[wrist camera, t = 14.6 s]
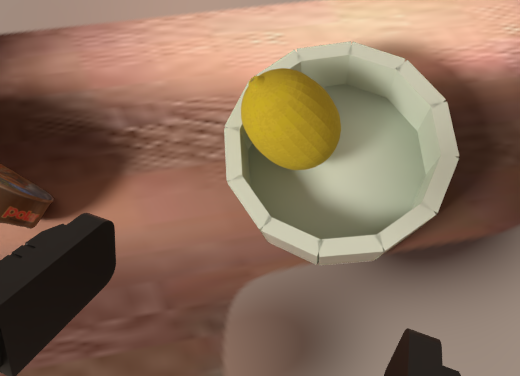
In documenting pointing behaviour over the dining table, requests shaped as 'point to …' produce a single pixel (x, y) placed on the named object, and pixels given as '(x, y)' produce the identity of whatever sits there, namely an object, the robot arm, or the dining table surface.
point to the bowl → (352, 160)
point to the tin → (21, 199)
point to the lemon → (290, 119)
